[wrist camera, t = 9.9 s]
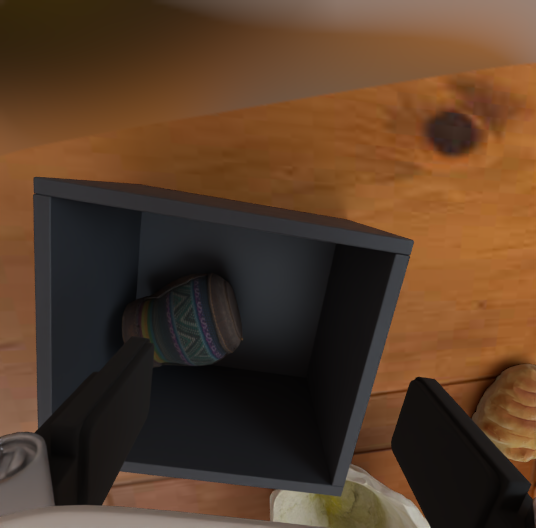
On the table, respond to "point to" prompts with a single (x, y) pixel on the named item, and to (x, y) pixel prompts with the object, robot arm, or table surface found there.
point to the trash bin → (252, 318)
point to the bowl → (348, 506)
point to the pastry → (511, 412)
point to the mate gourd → (187, 321)
